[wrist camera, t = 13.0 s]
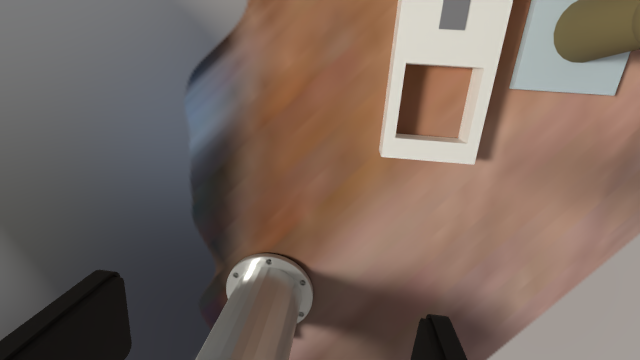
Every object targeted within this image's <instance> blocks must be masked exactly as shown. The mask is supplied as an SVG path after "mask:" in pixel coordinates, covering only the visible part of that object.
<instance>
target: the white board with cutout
mask: <svg viewBox="0 0 640 360" xmlns="http://www.w3.org/2000/svg"><path fill="white" fill-rule="evenodd" d="M512 3H513V0H398V6H397V14H396V22H395V30H394V38H393V45H392V53H391V61H390V69H389V77H388V85H387V92H386V100H385V108H384V116H383V124H382V131H381V139H380V147H379V152H380V154H381V157H390V158H402V159H414V160H426V161H438V162H450V163H462V164H475V160H476V155H477V151H478V147H479V143H480V138H481V134H482V130H483V126H484V121H485V117H486V113H487V109H488V105H489V100H490V96H491V92H492V88H493V83H494V79H495V75H496V71H497V67H498V62H499V58H500V54H501V50H502V45H503V41H504V37H505V33H506V28H507V24H508V20H509V16H510V12H511V7H512ZM406 64H411V65H427V66H443V67H459V68H473V71H472V75H471V80H470V85H469V89H468V94H467V99H466V104H465V108H464V113H463V118H462V122H461V127H460V132H459V137H458V138H449V137H436V136H423V135H410V134H397V133H396V129H397V122H398V115H399V108H400V101H401V94H402V87H403V80H404V73H405V66H406Z"/></svg>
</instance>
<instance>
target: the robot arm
mask: <svg viewBox="0 0 640 360" xmlns="http://www.w3.org/2000/svg"><path fill="white" fill-rule="evenodd" d="M226 292H227V297H228V301H227V303H226V305H225V307H224V309H223V310H222V312H221V314H220V316H219V318H218V320H217V321H216V323H215V325H214V327H213V329H212V331H211V332H210V334H209V336H208V338H207V340H206V342H205V343H204V345H203V347H202V349H201V351H200V353H199V354H198V356H197V358H196V360H289V356H290V351H291V347H292V342H293V337H294V333H295V328H296V324H297V323H299V322H300V321H302V320H303V319H304V318H305V317H306V315H307V314H308V313H309V311H310V309H311V306H312V301H313V287H312V284H311V281H310V278H309V277H308V275H307V274H306V272H305V271H304V270H303V269H302V268H301V267H300V266H299V265H298V264H296V263H295V262H293V261H292V260H290V259H288V258H286V257H283V256H280V255H277V254H270V253H260V254H255V255H251V256H249V257H246V258H244V259H243V260H241V261H240V262H239V263H238V264H237V265H236V266H235V267H234V268H233V270H232V271H231V273H230V275H229V277H228V279H227V285H226ZM130 349H131V336H130V327H129V318H128V310H127V303H126V294H125V287H124V280H123V278H120V275H119V273H117V272H112V271H105V270H96V271H94V272H93V273H92V274H90V275H89V276H87V277H86V278H85V279H83V280H82V281H81V282H79V283H78V284H76V285H75V286H74V287H72V288H71V289H70V290H69V291H67V292H66V293H64V294H63V295H62V296H60V297H59V298H58V299H56V300H55V301H54V302H52V303H51V304H49V305H48V306H47V307H45V308H44V309H43V310H42V311H40V312H39V313H37V314H36V315H35V316H33V317H32V318H31V319H29V320H28V321H26V322H25V323H24V324H22V325H21V326H20V327H18V328H17V329H16V330H14V331H13V332H12V333H10V334H9V335H8V336H6V337H5V338H4V339H2V340H1V341H0V360H124V359H125V358H126V357H127V355H128V354H129V352H130ZM411 360H467V358H466V355H465V353H464V351H463V348H462V346H461V344H460V342H459V339H458V337H457V335H456V332H455V330H454V328H453V325H452V323H451V321H450V319H449V318H448V317H447V316H439V315H432V314H428V315H427V316H426V319H423V318H421V319H420V322H419V326H418V330H417V335H416V339H415V343H414V347H413V351H412V356H411Z"/></svg>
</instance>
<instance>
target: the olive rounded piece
mask: <svg viewBox="0 0 640 360" xmlns="http://www.w3.org/2000/svg"><path fill="white" fill-rule="evenodd" d="M553 35H554V46H555V48H556V51H557V53H558V54H559V55H560V56H561V57H562V58H563V59H565V60H568V61H570V62H575V63H583V62H588V61H592V60H596V59H600V58H604V57H609V56H613V55H617V54H621V53H625V52H630V51H634V50H638V49H640V0H577V1H576V2H574V3H572V4H571V5H570V6H569V7H568V8H567V9H566V10H565V11H564V12H563V13H562V15H561V16H560V18H559V20H558V21H557V23H556V26H555V30H554V34H553Z"/></svg>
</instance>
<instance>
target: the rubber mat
mask: <svg viewBox="0 0 640 360" xmlns="http://www.w3.org/2000/svg"><path fill="white" fill-rule="evenodd" d="M576 1H577V0H531V4H530V8H529V12H528V16H527V20H526V24H525V28H524V32H523V36H522V40H521V43H520V47H519V51H518V55H517V59H516V63H515V67H514V71H513V75H512V79H511V83H510V87H509V89H523V90H538V91H553V92H569V93H584V94H599V95H615V92H616V90H617V87H618V84H619V82H620V79H621V76H622V73H623V71H624V68H625V65H626V62H627V60H628V57H629V54H630V52H625V53H621V54H617V55H613V56H609V57H604V58H600V59H596V60H592V61H588V62H583V63H575V62H570V61H568V60H565V59H563V58H562V57H561V56H560V55H559V54H558V53H557V51H556V48H555V46H554V35H553V34H554V30H555V26H556V23H557V21H558V20H559V18H560V16H561V15H562V13H563V12H564V11H565V10H566V9H567V8H568V7H569V6H570V5H571V4H572V3H574V2H576Z"/></svg>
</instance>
